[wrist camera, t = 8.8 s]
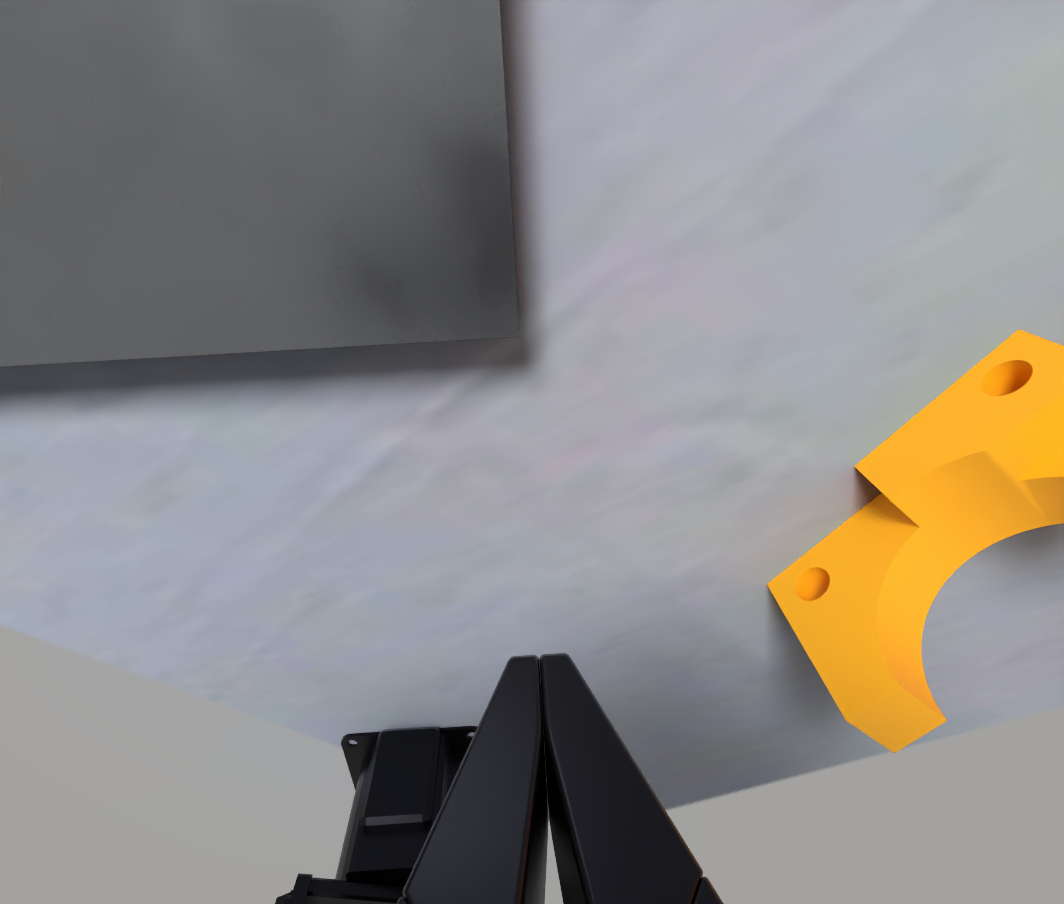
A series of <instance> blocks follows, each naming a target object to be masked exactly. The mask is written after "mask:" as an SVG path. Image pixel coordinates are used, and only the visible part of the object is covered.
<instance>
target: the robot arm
mask: <svg viewBox="0 0 1064 904" xmlns="http://www.w3.org/2000/svg"><path fill="white" fill-rule="evenodd" d="M539 661H540V667H539ZM540 679H541V683H540ZM541 696H542V699H541ZM542 713H543V715H542ZM543 729H544V732H543ZM470 732H475V734H474V737H470V736H468V735H467V734H468V733H470ZM349 740H355V741H357V744H350V743H348V741H349ZM341 745H342V748H343V751H344V754H345V758H346V761H347V764H348V767H349V771H350V774H351V777H352V780H353V783H354V787H355V790H356V792H355V796H354V801H353V805H352V809H351V814H350V818H349V822H348V826H347V831H346V835H345V839H344V844H343V848H342V852H341V857H340V862H339V866H338V870H337V874H336V878H335V879H323V878H312V875H311V874H298V877H297V880H296V883H295V886H294V889H293V890H291V892H290V893H287V894H285V895H283V896H280V897H278V898H277V899H276V903H275V904H544V900H545V881H546V861H547V840H548V808H549V819H550V826H551V833H552V840H553V845H554V851H555V857H556V863H557V869H558V874H559V880H560V886H561V891H562V897H563V903H564V904H723V902H722V901H721V899H720V897H719V896H718V894H717V893H716V891H715V889H714V888H713V886H712V885H711V883H710V881H709V880H708V878H706V877H702V875H703V871H702V869H701V867H700V866H699V864H698V862H697V861H696V859H695V858H694V856H693V854H692V853H691V851H690V850H689V848H688V846H687V845H686V843H685V842H684V840H683V838H682V837H681V835H680V833H679V832H678V830H677V829H676V827H675V825H674V824H673V822H672V821H671V819H670V817H669V816H668V814H667V812H666V811H665V809H664V808H663V806H662V804H661V803H660V801H659V800H658V798H657V796H656V795H655V793H654V791H653V790H652V788H651V787H650V785H649V783H648V782H647V780H646V779H645V777H644V775H643V774H642V772H641V770H640V769H639V767H638V766H637V764H636V762H635V761H634V759H633V758H632V756H631V754H630V753H629V751H628V749H627V748H626V746H625V745H624V743H623V741H622V740H621V738H620V737H619V735H618V733H617V732H616V730H615V729H614V727H613V725H612V724H611V722H610V720H609V719H608V717H607V716H606V714H605V712H604V711H603V709H602V708H601V706H600V704H599V703H598V701H597V699H596V698H595V696H594V695H593V693H592V691H591V690H590V688H589V687H588V685H587V683H586V682H585V680H584V679H583V677H582V675H581V674H580V672H579V670H578V669H577V667H576V666H575V664H574V662H573V661H572V659H571V658H570V657H569V655H567V654H566V653H557V654H544V655H542V656H541V657H540V660H539V658H538V657H537V656H536V655H526V656H514V657H511V658H510V659H509V661H508V663H507V665H506V667H505V669H504V671H503V673H502V676H501V678H500V680H499V682H498V684H497V686H496V689H495V691H494V693H493V695H492V697H491V700H490V702H489V704H488V706H487V708H486V710H485V713H484V715H483V717H482V719H481V721H480V724H479V726H478V727H476V726H463V727H448V728H437V727H427V728H412V729H396V730H384V731H382V732H370V733H355V734H347V735H345V736H344V737H343V738H342V741H341ZM544 746H545V749H544ZM545 762H546V767H545ZM546 779H547V784H546ZM547 795H548V802H547Z"/></svg>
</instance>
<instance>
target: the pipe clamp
mask: <svg viewBox="0 0 1064 904" xmlns="http://www.w3.org/2000/svg"><path fill="white" fill-rule="evenodd" d="M854 467H855V468H856V469H857V470H859V471H860V472H861V473H862V474H863V475H864V476H865V477H866V478H867V479H868V480H869V481H870V482H871V483H872V484H873V485H874V486H875V487H877V488H878V489H879V490H880V491H881V492H882V493H880V494H879V495H878V496H877V497H875V498H874V499H873V500H872V501H870V502H869V503H868V504H867V505H865V506H864V507H863V508H862V509H860V510H859V511H858V512H857V513H855V514H854V515H853V516H852V517H850V518H849V519H848V520H847V521H845V522H844V523H843V524H842V525H840V526H839V527H838V528H837V529H835V530H834V531H833V532H832V533H830V534H829V535H828V536H827V537H825V538H824V539H823V540H822V541H820V542H819V543H818V544H817V545H815V546H814V547H813V548H812V549H810V550H809V551H808V552H807V553H805V554H804V555H803V556H802V557H800V558H799V559H798V560H797V561H795V562H794V563H793V564H792V565H790V566H789V567H788V568H787V569H785V570H784V571H783V572H782V573H780V574H779V575H778V576H777V577H775V578H774V579H773V580H772V581H770V582H769V583H768V584H767V585H768V587H769V589H770V591H771V592H772V594H773V596H774V598H775V599H776V601H777V603H778V604H779V606H780V608H781V610H782V611H783V613H784V615H785V616H786V618H787V620H788V622H789V623H790V625H791V627H792V628H793V630H794V632H795V634H796V635H797V637H798V639H799V641H800V642H801V644H802V646H803V647H804V649H805V651H806V653H807V654H808V656H809V658H810V659H811V661H812V663H813V665H814V666H815V668H816V670H817V671H818V673H819V675H820V677H821V678H822V680H823V682H824V683H825V685H826V687H827V689H828V690H829V692H830V694H831V696H832V697H833V699H834V701H835V702H836V704H837V706H838V708H839V709H840V711H841V713H842V714H843V716H844V718H845V720H846V721H847V722H849V723H850V724H852V725H853V726H855V727H856V728H858V729H859V730H861V731H862V732H864V733H865V734H867V735H868V736H870V737H871V738H873V739H874V740H876V741H877V742H879V743H880V744H882V745H883V746H885V747H886V748H888V749H889V750H891V751H892V752H894V753H895V752H897V751H899V750H900V749H902V748H903V747H905V746H907V745H908V744H910V743H912V742H913V741H915V740H916V739H918V738H920V737H921V736H923V735H925V734H926V733H928V732H929V731H931V730H933V729H934V728H936V727H938V726H939V725H941V724H942V723H944V722H946V721H947V720H946V718H945V717H944V715H943V714H942V712H941V711H940V709H939V708H938V706H937V704H936V702H935V700H934V698H933V697H932V694H931V692H930V689H929V687H928V684H927V681H926V678H925V674H924V670H923V664H922V656H921V642H922V632H923V627H924V623H925V619H926V616H927V613H928V610H929V608H930V606H931V604H932V602H933V600H934V598H935V596H936V595H937V593H938V591H939V590H940V588H941V587H942V586H943V584H944V583H945V582H946V580H947V579H948V578H949V577H950V576H951V575H952V574H953V573H954V572H955V571H956V570H957V569H958V568H959V567H960V566H961V565H962V564H963V563H965V562H966V561H967V560H968V559H970V558H971V557H972V556H974V555H975V554H977V553H978V552H980V551H981V550H983V549H985V548H987V547H988V546H990V545H992V544H994V543H996V542H998V541H1000V540H1002V539H1005V538H1007V537H1010V536H1012V535H1015V534H1018V533H1021V532H1024V531H1028V530H1031V529H1034V528H1039V527H1044V526H1049V525H1055V524H1062V523H1064V346H1062V345H1060V344H1057V343H1054V342H1052V341H1049V340H1046V339H1043V338H1041V337H1038V336H1035V335H1033V334H1030V333H1027V332H1025V331H1022V330H1019V329H1018V330H1017V331H1016V332H1015V333H1014V334H1012V335H1011V336H1010V337H1009V338H1008V339H1006V340H1005V341H1004V342H1003V343H1002V344H1000V345H999V346H998V347H997V348H996V349H994V350H993V351H992V352H991V353H990V354H988V355H987V356H986V357H985V358H984V359H982V360H981V361H980V362H979V363H978V364H976V365H975V366H974V367H973V368H972V369H970V370H969V371H968V372H967V373H966V374H964V375H963V376H962V377H961V378H960V379H958V380H957V381H956V382H955V383H954V384H952V385H951V386H950V387H949V388H948V389H946V390H945V391H944V392H943V393H942V394H940V395H939V396H938V397H937V398H936V399H934V400H933V401H932V402H931V403H930V404H928V405H927V406H926V407H925V408H924V409H922V410H921V411H920V412H919V413H918V414H916V415H915V416H914V417H913V418H912V419H910V420H909V421H908V422H907V423H906V424H904V425H903V426H902V427H901V428H900V429H898V430H897V431H896V432H895V433H894V434H892V435H891V436H890V437H889V438H888V439H886V440H885V441H884V442H883V443H882V444H880V445H879V446H878V447H877V448H876V449H874V450H873V451H872V452H871V453H870V454H868V455H867V456H866V457H865V458H864V459H862V460H861V461H860V462H859V463H858V464H856V465H855V466H854Z"/></svg>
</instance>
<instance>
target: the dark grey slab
mask: <svg viewBox="0 0 1064 904" xmlns="http://www.w3.org/2000/svg"><path fill="white" fill-rule="evenodd" d="M506 337H519V320H518V304H517V287H516V270H515V253H514V236H513V219H512V202H511V185H510V168H509V151H508V134H507V117H506V101H505V84H504V67H503V50H502V33H501V16H500V0H0V367H3V366H20V365H38V364H55V363H72V362H90V361H107V360H124V359H142V358H159V357H177V356H194V355H211V354H229V353H246V352H263V351H281V350H298V349H315V348H333V347H350V346H367V345H385V344H402V343H419V342H437V341H454V340H471V339H489V338H506Z"/></svg>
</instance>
